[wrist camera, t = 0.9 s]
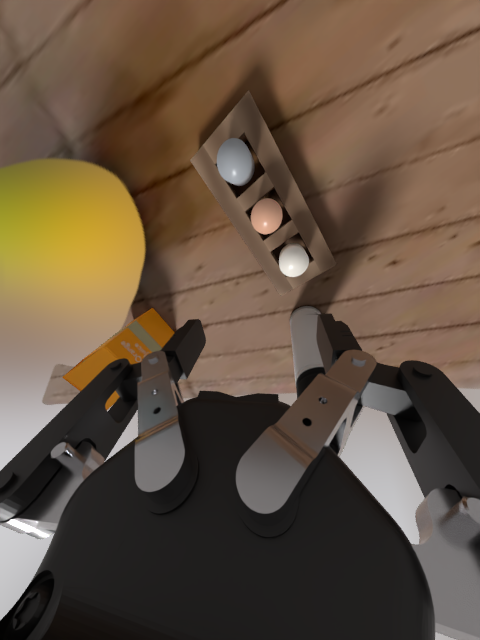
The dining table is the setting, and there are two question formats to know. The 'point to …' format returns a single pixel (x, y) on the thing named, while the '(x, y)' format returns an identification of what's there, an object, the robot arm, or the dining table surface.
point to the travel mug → (305, 347)
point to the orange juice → (123, 349)
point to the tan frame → (277, 176)
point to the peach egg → (266, 216)
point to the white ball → (293, 260)
